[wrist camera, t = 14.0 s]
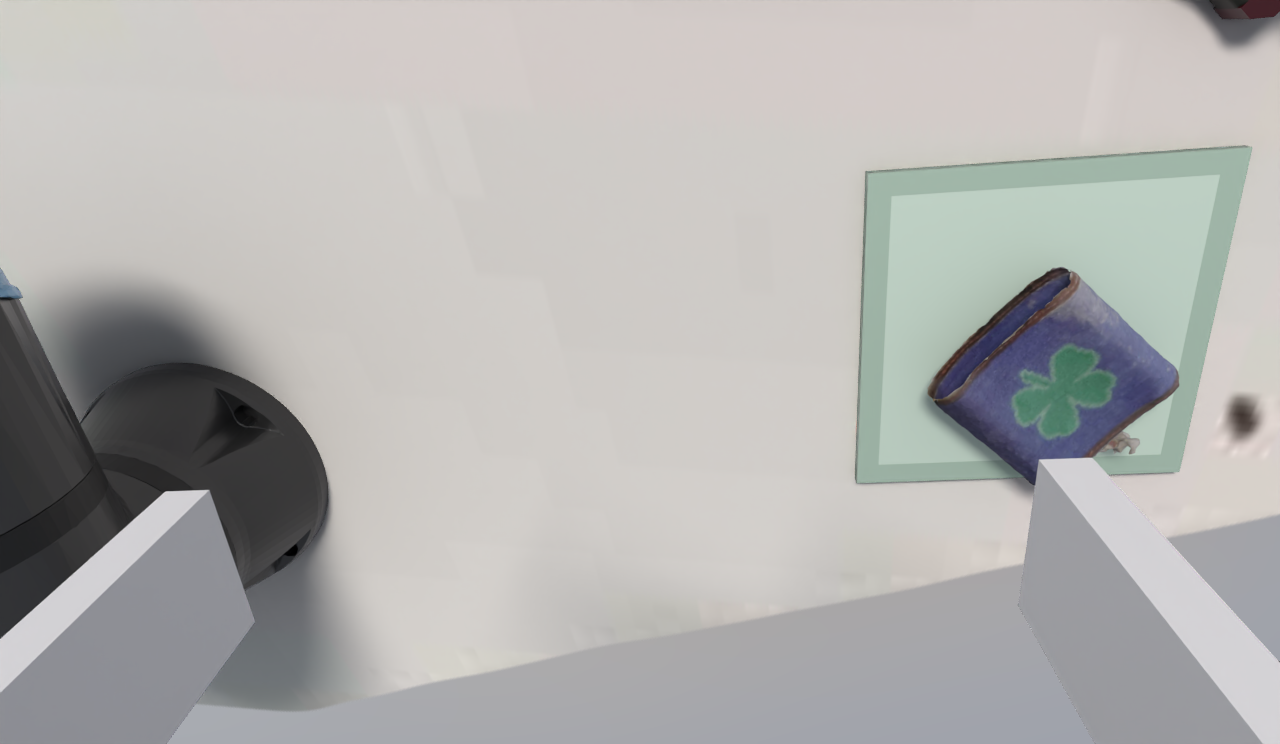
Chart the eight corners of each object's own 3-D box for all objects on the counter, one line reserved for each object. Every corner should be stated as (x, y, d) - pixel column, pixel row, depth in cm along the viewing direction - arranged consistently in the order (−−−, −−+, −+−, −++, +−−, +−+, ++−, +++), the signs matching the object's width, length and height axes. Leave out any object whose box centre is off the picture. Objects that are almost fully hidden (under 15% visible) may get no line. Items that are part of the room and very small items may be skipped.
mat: (854, 477, 47) (856, 483, 47) (865, 171, 40) (868, 173, 39) (1173, 466, 46) (1179, 472, 45) (1244, 145, 38) (1252, 147, 38)
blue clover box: (1081, 272, 37) (1214, 400, 40) (1050, 256, 40) (1177, 377, 43) (936, 409, 40) (1070, 519, 43) (917, 385, 43) (1044, 490, 46)
